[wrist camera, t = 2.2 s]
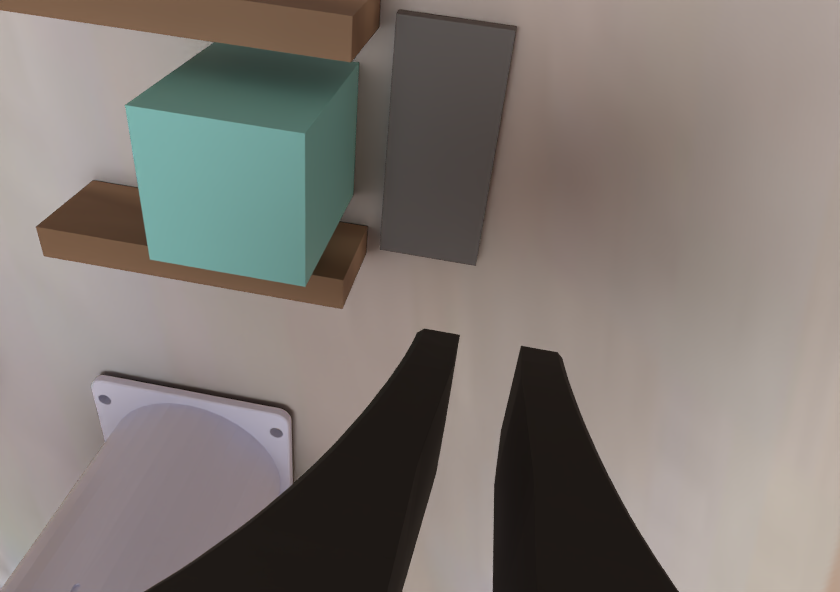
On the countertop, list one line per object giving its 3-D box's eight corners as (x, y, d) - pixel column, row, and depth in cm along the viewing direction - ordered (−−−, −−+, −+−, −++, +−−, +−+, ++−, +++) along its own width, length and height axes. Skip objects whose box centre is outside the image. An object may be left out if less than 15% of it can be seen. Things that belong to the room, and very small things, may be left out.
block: (353, 194, 21) (305, 287, 17) (227, 173, 21) (149, 259, 17) (359, 61, 19) (305, 133, 15) (216, 40, 19) (125, 104, 15)
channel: (366, 253, 22) (342, 308, 20) (98, 207, 23) (43, 256, 20) (381, -15, 17) (352, 16, 15) (43, -62, 18) (-36, -40, 16)
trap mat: (477, 258, 22) (475, 265, 21) (382, 242, 22) (379, 249, 22) (516, 26, 17) (515, 30, 17) (399, 9, 18) (396, 13, 17)
